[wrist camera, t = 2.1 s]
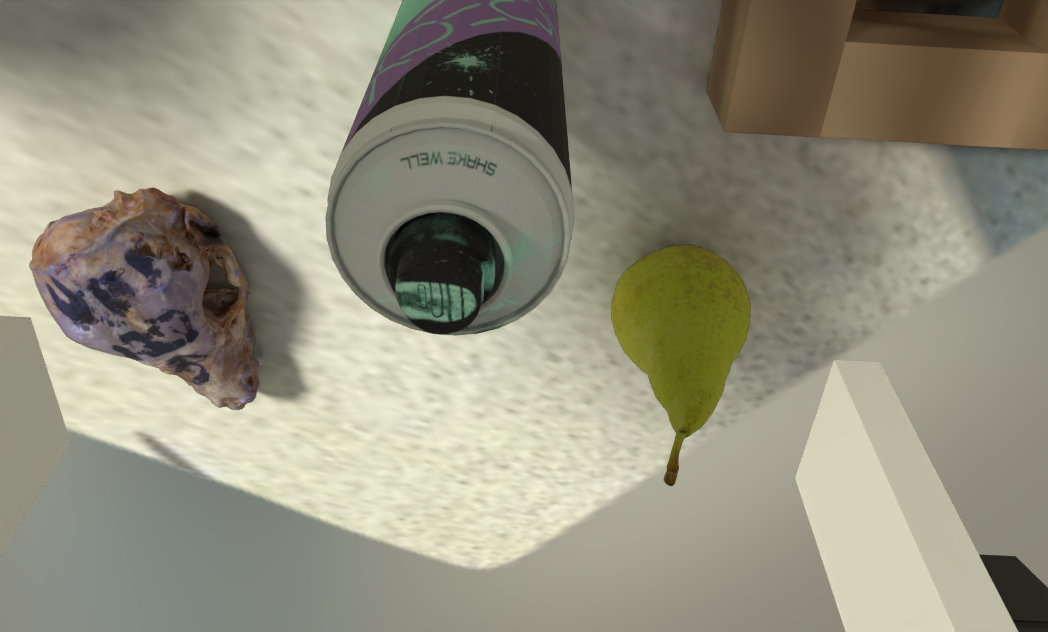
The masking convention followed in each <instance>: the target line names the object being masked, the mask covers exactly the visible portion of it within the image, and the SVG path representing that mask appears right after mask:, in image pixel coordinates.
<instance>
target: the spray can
mask: <svg viewBox="0 0 1048 632" xmlns="http://www.w3.org/2000/svg"><path fill="white" fill-rule="evenodd" d="M573 223H574V211H573V198H572V186H571V174H570V162H569V150H568V138H567V126H566V114H565V102H564V90H563V78H562V66H561V54H560V42H559V30H558V18H557V6H556V0H403V1H402V3H401V6H400V8H399V11H398V13H397V16H396V18H395V21H394V23H393V26H392V28H391V31H390V33H389V36H388V38H387V41H386V43H385V46H384V48H383V51H382V53H381V56H380V58H379V61H378V63H377V66H376V68H375V71H374V73H373V76H372V78H371V81H370V83H369V86H368V88H367V90H366V93H365V95H364V98H363V100H362V103H361V105H360V108H359V110H358V113H357V115H356V118H355V120H354V123H353V125H352V128H351V130H350V133H349V135H348V138H347V140H346V143H345V145H344V148H343V150H342V153H341V155H340V158H339V160H338V163H337V165H336V168H335V170H334V173H333V175H332V178H331V183H330V188H329V194H328V207H327V213H326V234H327V241H328V245H329V249H330V252H331V256H332V259H333V261H334V263H335V265H336V267H337V269H338V271H339V273H340V275H341V276H342V278H343V279H344V281H345V282H346V283H347V284H348V286H349V287H350V288H351V289H352V291H353V292H354V293H355V294H356V295H357V296H358V297H359V298H360V299H361V300H362V301H364V302H365V303H366V304H367V305H368V306H369V307H370V308H372V309H373V310H375V311H376V312H378V313H380V314H381V315H383V316H384V317H386V318H388V319H389V320H391V321H394V322H396V323H399V324H401V325H403V326H406V327H408V328H411V329H415V330H419V331H423V332H428V333H432V334H442V335H466V334H478V333H482V332H485V331H489V330H493V329H497V328H500V327H502V326H505V325H507V324H509V323H511V322H514V321H516V320H518V319H519V318H521V317H522V316H524V315H525V314H527V313H528V312H530V311H531V310H533V309H534V308H535V307H536V306H537V305H538V304H539V303H540V302H541V301H542V300H543V299H544V298H545V297H546V296H547V295H548V294H549V293H550V292H551V290H552V289H553V287H554V286H555V284H556V283H557V281H558V280H559V278H560V276H561V274H562V271H563V269H564V266H565V263H566V261H567V258H568V253H569V245H570V241H571V238H572V230H573Z"/></svg>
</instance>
